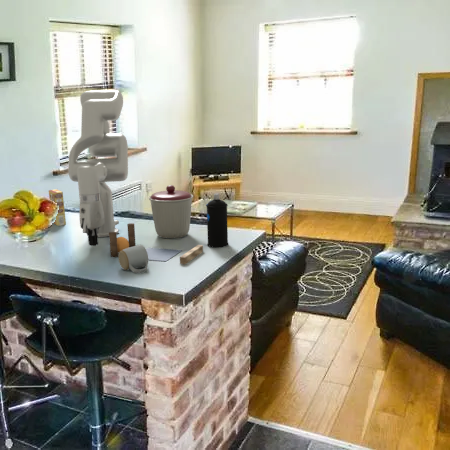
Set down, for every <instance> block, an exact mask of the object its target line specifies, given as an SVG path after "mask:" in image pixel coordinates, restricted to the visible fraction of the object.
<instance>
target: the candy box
mask: <svg viewBox="0 0 450 450" xmlns="http://www.w3.org/2000/svg"><path fill="white" fill-rule="evenodd" d="M48 197H49V198H48V199H49V201H50V200H52V201H54V202H55V203H57V204H58V205H59V210H58V214H57V216H56V220H55V222H54V223H53V224H54V225H56V227H59V226H60V227H61V226H65V225H67V221H66V220H67V219H66V211H65V202H64V193H63V191H61V190H59V189H58V188H57V189H49V190H48Z"/></svg>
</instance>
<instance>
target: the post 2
mask: <svg viewBox="0 0 450 450" xmlns="http://www.w3.org/2000/svg"><path fill="white" fill-rule="evenodd" d="M135 229H136V228H135V223H133V222H131V223H130V222H129V223H127V237H128V238H127V240H128V242H129V248H130V247H133V246H136V244H137V243H136V233H135Z"/></svg>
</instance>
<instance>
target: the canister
mask: <svg viewBox="0 0 450 450" xmlns="http://www.w3.org/2000/svg"><path fill="white" fill-rule="evenodd" d="M193 198H194V195H193V194H191V193H190V192H189V191H185V190H176V187H175V186H174V185H173V184H170V185H167V186H166V188H165V190H162V191H155V192H154V193H152V194H151V195H149V197H148V200H149V201H150V207H151V212H152V220H153V224H154V229H155V233H156V234H157V236H158V237H160V238H163V239H169V240H170V239H180V238H183V237H186V236H188V234H189V231H190V225H191V215H192V200H193Z"/></svg>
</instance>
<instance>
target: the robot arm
mask: <svg viewBox="0 0 450 450" xmlns="http://www.w3.org/2000/svg"><path fill="white" fill-rule="evenodd" d="M79 101H80V106H81V128H80V129H81V130H80V131H81V135H80V137H79V138H78V139H77V140H76V141H75V143H74V144H73V145H72V147H71V148H70V151H69V155H68V165H67V166H68V170H67V171H68V177H69V179H70V180H71V181H72V182H74V183H77V185H78V196H79V197H78V199H79V211H78V212H79V213H78V215H79V226H80V229H82V234H86V235H87V239H88V246H91V247H96V246H98V245H99V238H105V237H109V232H116V235H118V234H119V229H118V228H117V227H116V226H117V225H119V223H120V221H119V220H117V219H115V217H114V214H115V213H114V202H113V201H114V200H113V192H112V189H111V188H110V187H109V185H108V184H107V183H109V182H124V181H126V180H127V178H128V175H129V163H128V162H129V159H128V157H129V153H128V152H129V149H128V147H129V146H128V139H127V137H126V136H125V135H124V134H123V133H110V123H109V121H110V122H111V121H114V122H115V121H117V120H119V118H120V116H121V112H122V109H123V106H124V97H123V94H122V92H121V91H120V90H116V89H105V90H104V89H101V90H99V89H98V90H97V89H95V90H88V91H87V90H86V91H84V92H82V93H81V94H80V100H79ZM87 149H88V152H89V154H90V156H92V157H96V158H91V159H88V160H87V161H78V159H79V157H80V155H81V154H82V152H84V151H85V150H87ZM112 157H115V158H112Z"/></svg>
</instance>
